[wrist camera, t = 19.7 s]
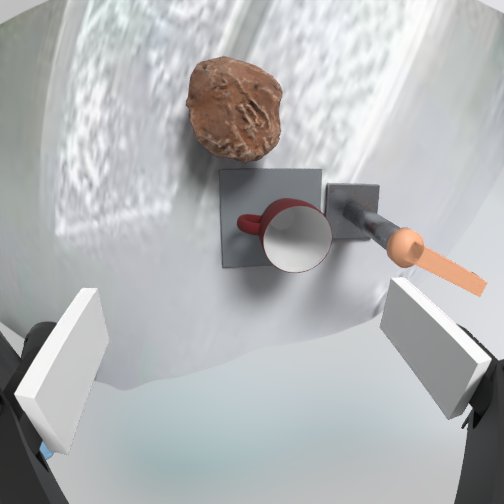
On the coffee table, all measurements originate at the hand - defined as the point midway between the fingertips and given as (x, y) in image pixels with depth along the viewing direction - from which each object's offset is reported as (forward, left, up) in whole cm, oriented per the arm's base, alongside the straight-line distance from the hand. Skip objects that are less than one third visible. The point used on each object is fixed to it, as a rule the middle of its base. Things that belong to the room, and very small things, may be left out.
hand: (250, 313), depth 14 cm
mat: (+6, -5, -32) cm, 33 cm away
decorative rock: (+1, +10, -32) cm, 34 cm away
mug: (+6, -4, -31) cm, 32 cm away
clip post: (+18, -4, -32) cm, 37 cm away
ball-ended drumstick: (+25, -7, -19) cm, 32 cm away
